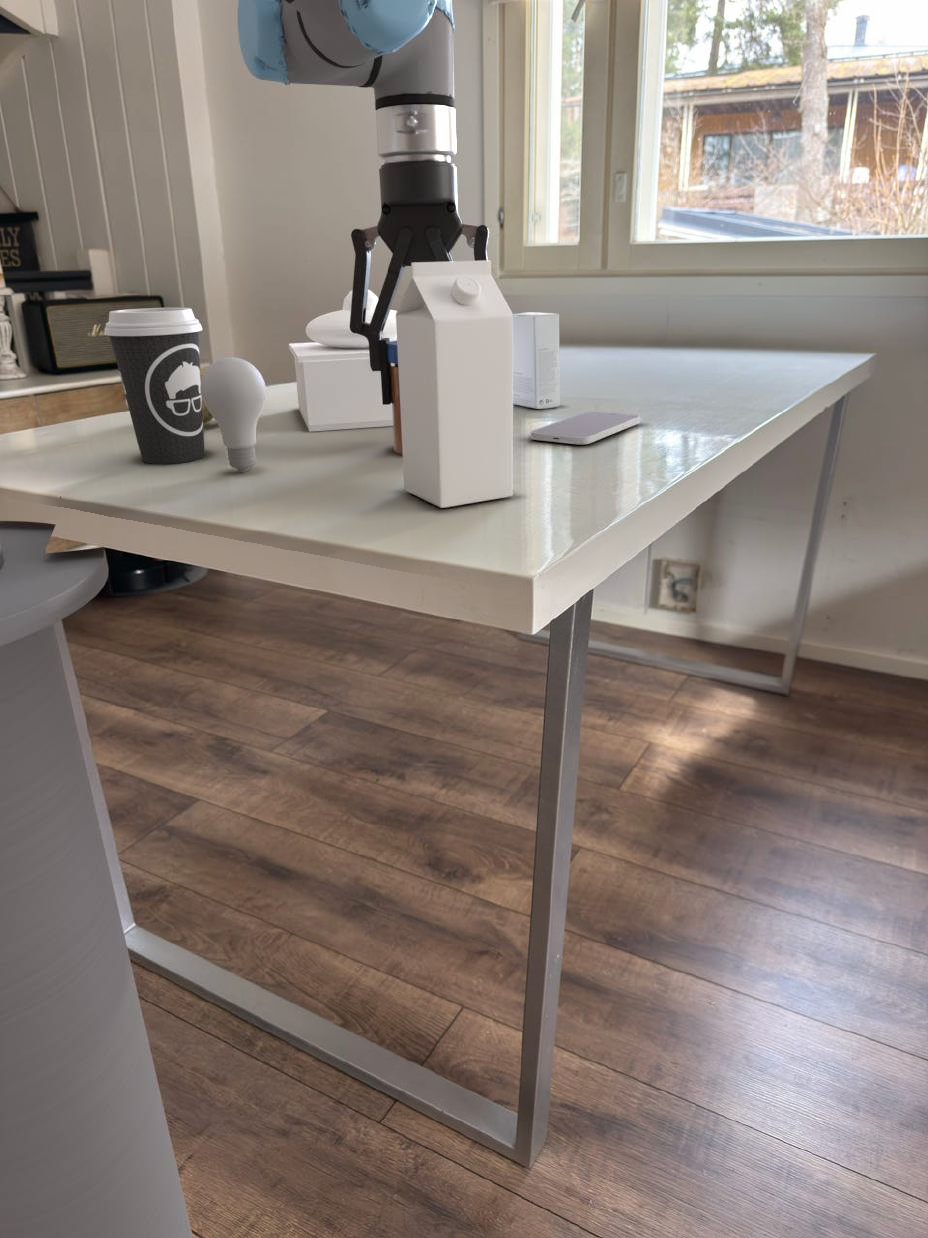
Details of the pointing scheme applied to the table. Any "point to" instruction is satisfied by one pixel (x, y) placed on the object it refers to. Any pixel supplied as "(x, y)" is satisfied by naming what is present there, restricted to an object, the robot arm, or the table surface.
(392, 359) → the jar lid
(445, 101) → the robot arm
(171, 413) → the coffee cup
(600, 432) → the smartphone
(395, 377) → the jar
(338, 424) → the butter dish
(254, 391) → the lightbulb
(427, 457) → the milk carton
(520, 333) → the cosmetic box
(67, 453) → the table surface
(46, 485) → the table surface
